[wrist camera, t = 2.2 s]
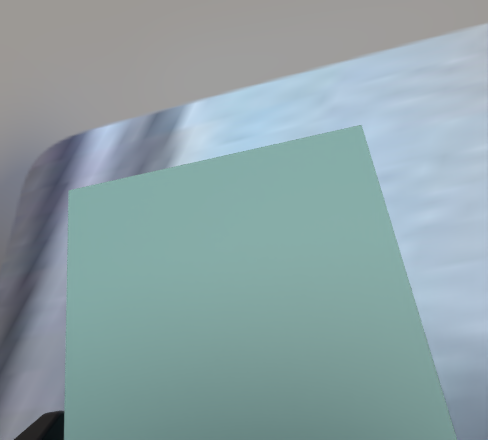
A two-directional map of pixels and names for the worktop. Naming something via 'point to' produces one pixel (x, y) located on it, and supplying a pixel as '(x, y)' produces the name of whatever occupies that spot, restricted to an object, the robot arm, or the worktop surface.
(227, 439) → the teal post
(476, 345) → the worktop surface
